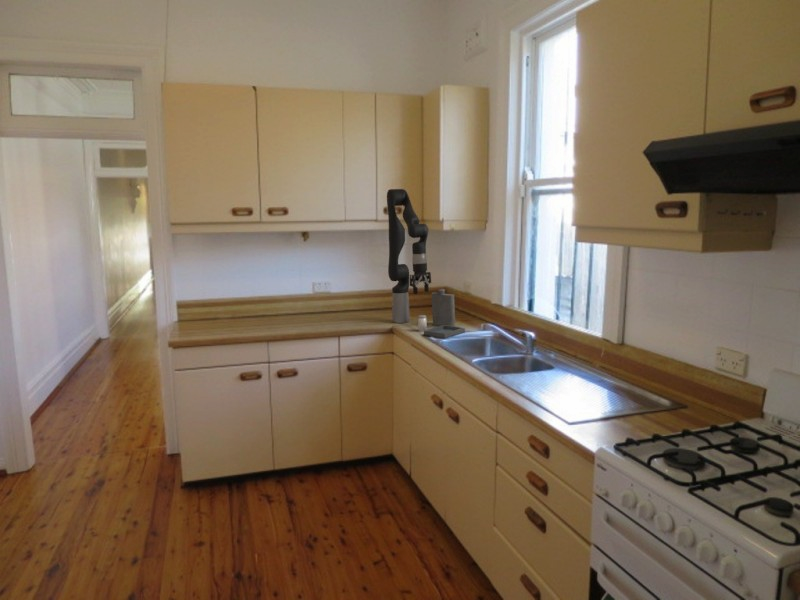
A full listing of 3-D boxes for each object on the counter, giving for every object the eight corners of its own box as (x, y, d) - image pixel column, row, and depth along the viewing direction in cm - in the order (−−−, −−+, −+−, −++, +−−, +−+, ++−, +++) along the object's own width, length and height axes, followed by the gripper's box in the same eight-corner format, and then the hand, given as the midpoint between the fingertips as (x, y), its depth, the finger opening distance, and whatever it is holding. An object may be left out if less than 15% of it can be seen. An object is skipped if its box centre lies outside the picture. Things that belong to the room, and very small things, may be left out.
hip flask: (456, 326, 309) (455, 290, 306) (451, 327, 307) (450, 291, 303) (435, 322, 321) (434, 287, 318) (430, 324, 319) (429, 288, 315)
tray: (423, 335, 292) (423, 330, 292) (443, 329, 303) (443, 324, 303) (445, 338, 282) (444, 333, 282) (464, 332, 294) (464, 327, 293)
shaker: (416, 330, 303) (415, 316, 302) (422, 329, 307) (421, 314, 305) (423, 331, 300) (422, 317, 299) (428, 330, 303) (428, 315, 302)
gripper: (423, 260, 305) (424, 290, 308) (405, 263, 295) (406, 294, 298) (434, 261, 300) (435, 291, 302) (415, 264, 290) (417, 295, 292)
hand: (421, 292), depth 300 cm, fingers open, 8 cm apart
